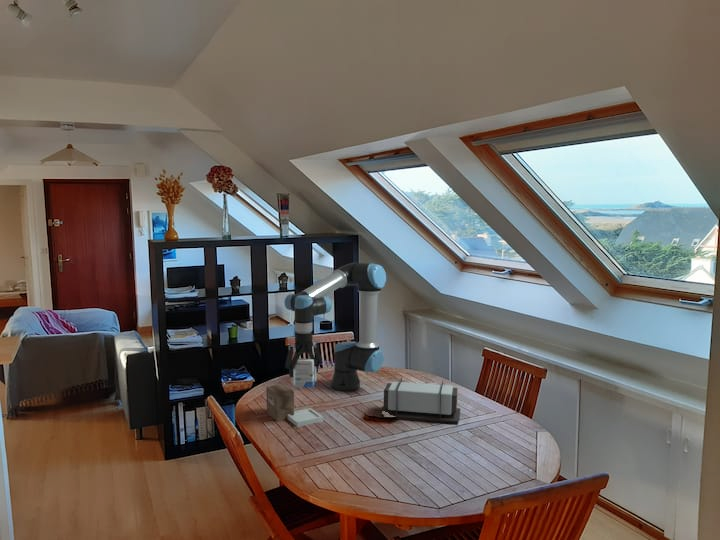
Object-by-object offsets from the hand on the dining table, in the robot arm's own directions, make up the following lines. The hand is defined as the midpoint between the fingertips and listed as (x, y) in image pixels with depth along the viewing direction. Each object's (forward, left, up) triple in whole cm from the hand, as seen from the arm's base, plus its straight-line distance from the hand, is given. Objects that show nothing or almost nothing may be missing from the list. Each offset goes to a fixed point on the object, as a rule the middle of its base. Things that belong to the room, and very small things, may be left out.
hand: (303, 382), depth 244 cm
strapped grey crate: (-47, +22, -17) cm, 55 cm away
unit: (+7, -10, -17) cm, 21 cm away
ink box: (0, 0, -2) cm, 2 cm away
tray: (0, 0, -17) cm, 17 cm away
